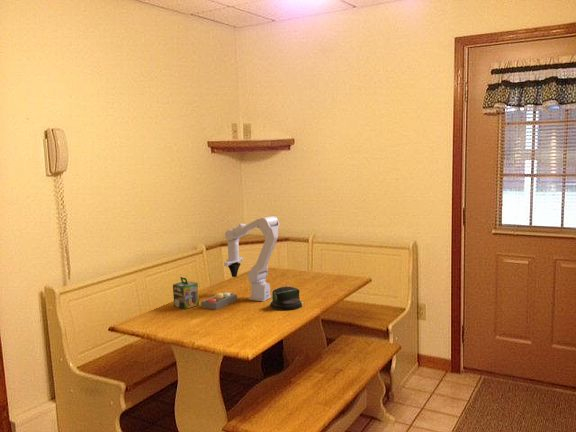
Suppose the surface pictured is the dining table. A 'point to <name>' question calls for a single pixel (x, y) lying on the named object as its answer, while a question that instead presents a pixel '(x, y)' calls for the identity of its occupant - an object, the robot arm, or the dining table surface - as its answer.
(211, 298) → the red button
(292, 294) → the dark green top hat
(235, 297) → the grey compartment tray
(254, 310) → the dining table surface
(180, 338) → the dining table surface
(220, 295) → the ochre button
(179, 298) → the chalk box
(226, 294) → the sage button
